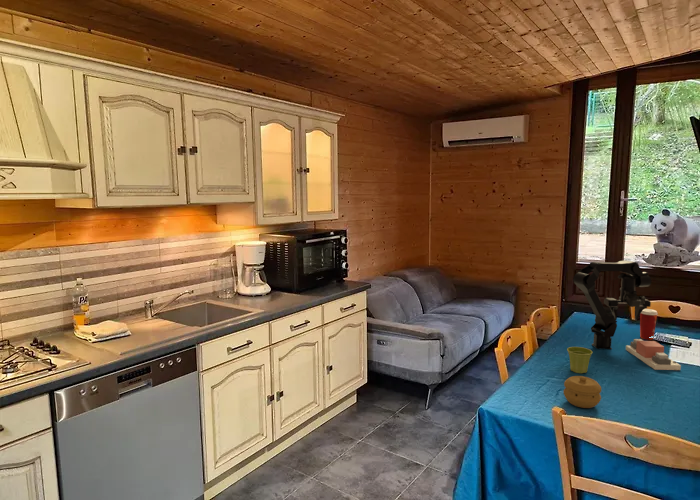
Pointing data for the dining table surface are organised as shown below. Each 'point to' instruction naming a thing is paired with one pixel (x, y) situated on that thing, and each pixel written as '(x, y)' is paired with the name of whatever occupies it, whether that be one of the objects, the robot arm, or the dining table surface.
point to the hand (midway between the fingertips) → (625, 320)
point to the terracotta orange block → (649, 348)
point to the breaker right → (661, 356)
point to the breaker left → (637, 340)
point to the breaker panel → (654, 360)
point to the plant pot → (579, 359)
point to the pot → (582, 391)
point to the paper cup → (647, 323)
